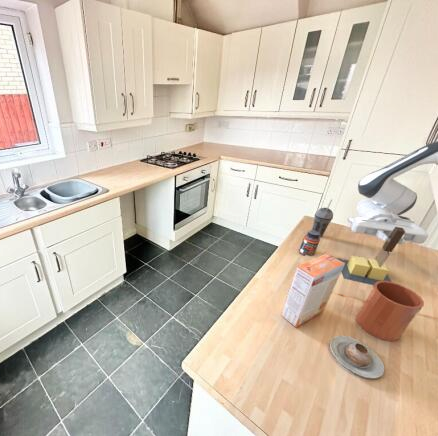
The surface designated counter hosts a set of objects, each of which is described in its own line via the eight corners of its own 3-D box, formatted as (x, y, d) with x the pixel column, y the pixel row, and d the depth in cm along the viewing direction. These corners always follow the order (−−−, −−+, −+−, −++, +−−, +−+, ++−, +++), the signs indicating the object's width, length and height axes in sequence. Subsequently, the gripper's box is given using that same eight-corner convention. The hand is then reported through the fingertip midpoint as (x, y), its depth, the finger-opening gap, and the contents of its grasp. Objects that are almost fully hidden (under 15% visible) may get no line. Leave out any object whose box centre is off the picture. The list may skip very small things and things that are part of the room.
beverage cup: (304, 234, 123) (316, 198, 113) (314, 231, 125) (327, 195, 115) (317, 241, 117) (332, 204, 107) (328, 238, 119) (343, 201, 109)
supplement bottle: (300, 256, 107) (308, 235, 102) (296, 248, 112) (304, 227, 107) (315, 258, 106) (324, 236, 100) (311, 250, 111) (319, 229, 105)
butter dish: (382, 269, 99) (383, 267, 98) (396, 292, 88) (397, 290, 87) (335, 259, 105) (336, 257, 104) (342, 280, 94) (343, 278, 93)
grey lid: (321, 354, 68) (327, 343, 66) (337, 330, 75) (343, 320, 72) (375, 390, 60) (383, 380, 58) (388, 361, 66) (396, 350, 64)
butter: (377, 271, 96) (383, 261, 94) (382, 281, 92) (388, 270, 89) (346, 264, 100) (351, 255, 98) (350, 274, 95) (355, 264, 93)
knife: (379, 258, 89) (401, 225, 81) (383, 268, 86) (407, 234, 77) (372, 257, 90) (393, 224, 81) (376, 266, 86) (398, 233, 78)
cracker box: (306, 300, 86) (326, 252, 75) (323, 312, 81) (347, 263, 71) (278, 314, 80) (296, 265, 70) (295, 328, 76) (316, 278, 66)
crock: (391, 318, 78) (413, 286, 71) (405, 346, 70) (432, 313, 63) (352, 308, 82) (369, 276, 75) (361, 333, 74) (381, 301, 67)
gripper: (349, 210, 94) (359, 227, 83) (419, 219, 87) (440, 239, 76) (343, 224, 97) (352, 242, 86) (410, 234, 90) (429, 255, 79)
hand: (394, 241), depth 81 cm, fingers closed on knife, 2 cm apart
